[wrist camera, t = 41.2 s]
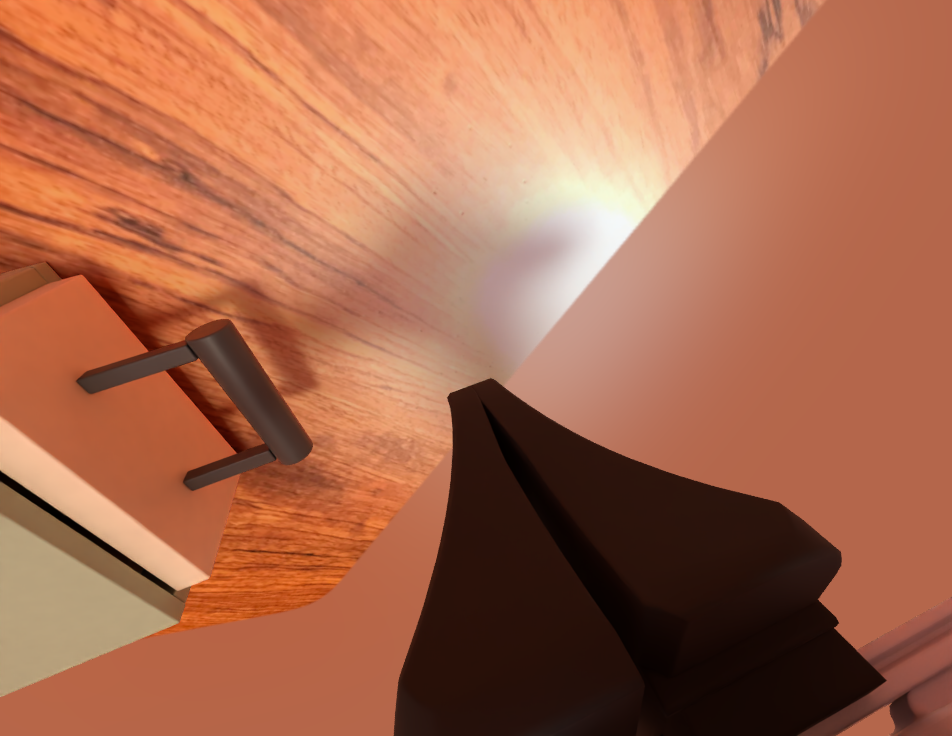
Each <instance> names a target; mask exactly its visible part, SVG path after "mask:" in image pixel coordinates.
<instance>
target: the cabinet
mask: <svg viewBox="0 0 952 736" xmlns="http://www.w3.org/2000/svg"><path fill="white" fill-rule="evenodd" d="M59 280H62V279H61V278H60V277H59V276H58V275H57V274H56V272H55V271H54V270H53V269H52V268H51V267H50V266H49V265H48V264H47V263H46V262H41V263H38V264H34V265H30V266H27V267H23V268H19V269H16V270H12V271H8V272H5V273H1V274H0V307H1V306H3V305H5V304H7V303H9V302H11V301H13V300H15V299H17V298H19V297H21V296H23V295H25V294H27V293H29V292H31V291H33V290H35V289H37V288H39V287H42V286H44V285H46V284H48V283H52V282H55V281H59ZM190 588H191V586H189V587H187V588H184V589H182V590H179V591H177V590H175V589H174V588H172V587H171V586H169V585H168V584H166V583H165V582H163V581H162V580H160V579H159V578H157V577H156V576H154V575H153V574H152V573H150V572H149V571H147V570H146V569H144V568H143V571H142V573H141V574H139V573H138V572H136V571H135V570H133V569H132V568H130V567H129V566H127V565H126V564H124V563H123V562H121V561H120V560H118V559H117V558H115V557H114V556H112V555H111V554H109V553H108V552H106V551H105V550H103V549H102V548H100V547H99V546H97V545H96V544H94V543H93V542H91V541H90V540H88V539H87V538H85V537H84V536H82V535H81V534H79V533H77V532H76V531H74V530H73V529H71V528H70V527H68V526H67V525H65V524H64V523H62V522H61V521H59V520H58V519H56V518H55V517H53V516H52V515H50V514H49V513H47V512H46V511H44V510H43V509H41V508H40V507H38V506H37V505H35V504H34V503H32V502H31V501H29V500H28V499H26V498H25V497H23V496H22V495H20V494H19V493H17V492H16V491H14V490H12V489H11V488H9V487H8V486H6V485H5V484H3V483H2V482H0V697H2V696H4V695H7V694H9V693H11V692H14V691H16V690H19V689H21V688H23V687H26V686H28V685H31V684H33V683H35V682H38V681H40V680H42V679H45V678H48V677H50V676H52V675H55V674H57V673H59V672H62V671H64V670H67V669H69V668H72V667H74V666H76V665H79V664H81V663H84V662H86V661H88V660H91V659H93V658H96V657H98V656H101V655H103V654H105V653H108V652H110V651H112V650H115V649H117V648H120V647H122V646H124V645H127V644H129V643H132V642H134V641H137V640H139V639H141V638H144V637H146V636H149V635H151V634H154V633H156V632H158V631H161V630H163V629H166V628H168V627H170V626H173V625H175V624H178V623H179V622H180V619H181V616H182V613H183V610H184V607H185V602H186V600H187V597H188V594H189V591H190Z"/></svg>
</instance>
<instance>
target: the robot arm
mask: <svg viewBox="0 0 952 736" xmlns="http://www.w3.org/2000/svg"><path fill="white" fill-rule="evenodd" d="M447 399H448V402H449V405H450V409H451V416H452V428H453V456H452V469H451V470H452V471H451V482H450V490H449V498H448V504H447V511H446V517H445V523H444V527H443V532H442V537H441V542H440V546H439V550H438V555H437V559H436V563H435V566H434V570H433V574H432V577H431V581H430V584H429V588H428V592H427V595H426V599H425V602H424V606H423V609H422V612H421V615H420V618H419V621H418V625H417V627H416V630H415V633H414V636H413V639H412V642H411V645H410V648H409V651H408V653H407V656H406V659H405V662H404V665H403V668H402V671H401V674H400V677H399V682H398V691H397V701H396V711H395V725H394V736H836V735H838V734H840V733H841V732H843V731H845V730H846V729H848V728H850V727H851V726H853V725H855V724H856V723H858V722H860V721H862V720H863V719H865V718H867V717H868V716H870V715H872V714H873V713H874V712H877V711H878V710H880V709H882V708H883V707H885V706H887V705H889V704H890V703H892V704H891V705H890V715H891V717H892V719H893V721H894V724H895V730H894V732H893V733H891V734H890V735H888V736H952V597H951V598H949V599H947V600H945V601H943V602H942V603H940V604H938V605H936V606H935V607H933V608H931V609H929V610H927V611H926V612H924V613H922V614H920V615H918V616H917V617H915V618H913V619H911V620H910V621H908V622H906V623H904V624H902V625H901V626H899V627H897V628H895V629H894V630H892V631H890V632H888V633H886V634H885V635H883V636H881V637H879V638H877V639H876V640H874V641H872V642H870V643H868V644H867V645H865V646H863V647H861V648H859V649H858V650H856V649H855V648H853V646H852V645H851V644H849V643H848V642H847V641H846V640H845V639H844V638H843V637H842V636H841V635H840V634H839V633H838V632H837V631H836V630H835V629H834V627H836V626H837V625H838V624H839V622H838V620H837V618H836V617H835V616H834V615H833V614H832V613H831V612H830V611H829V610H828V609H827V608H826V607H825V606H824V605H822V603H821V602H819V600H818V598H819V597H820V596H821V594H822V593H823V592H824V590H825V589H826V587H827V586H828V585H829V583H830V582H831V581H832V579H833V578H834V576H835V575H836V574H837V572H838V570H839V568H840V567H841V561H842V558H841V552H840V551H839V550H838V549H837V548H836V547H834V546H833V545H832V544H831V543H829V542H828V541H827V540H826V539H825V538H824V537H822V536H821V535H820V534H819V533H818V532H817V531H815V530H814V529H813V528H812V527H811V526H809V525H808V524H807V523H806V522H805V521H804V520H802V519H801V518H800V517H798V516H797V515H795V514H794V513H793V512H791V511H790V510H789V509H787V508H786V507H785V506H783V505H782V504H780V503H779V502H775V501H771V500H767V499H763V498H759V497H755V496H751V495H747V494H743V493H739V492H735V491H730V490H726V489H722V488H719V487H715V486H711V485H708V484H704V483H701V482H698V481H694V480H691V479H688V478H684V477H681V476H678V475H675V474H672V473H669V472H666V471H663V470H660V469H658V468H655V467H652V466H649V465H647V464H644V463H641V462H638V461H635V460H633V459H630V458H628V457H625V456H623V455H621V454H618V453H616V452H614V451H611V450H609V449H607V448H605V447H602V446H600V445H598V444H596V443H594V442H592V441H590V440H588V439H586V438H584V437H582V436H580V435H578V434H576V433H574V432H572V431H570V430H569V429H567V428H565V427H563V426H562V425H560V424H558V423H556V422H555V421H553V420H551V419H550V418H548V417H546V416H545V415H543V414H542V413H540V412H539V411H537V410H535V409H534V408H532V407H531V406H529V405H528V404H526V403H525V402H523V401H522V400H521V399H519V398H518V397H516V396H515V395H514V394H512V393H511V392H510V391H508V390H507V389H506V388H504V387H503V386H502V385H501V384H499V383H498V382H497V381H496V380H494V379H492V378H490V379H487V380H485V381H482V382H479V383H477V384H474V385H471V386H468V387H466V388H463V389H460V390H458V391H455V392H452V393H450V394H449V396H448V397H447Z"/></svg>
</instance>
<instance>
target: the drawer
mask: <svg viewBox="0 0 952 736" xmlns="http://www.w3.org/2000/svg"><path fill="white" fill-rule="evenodd" d="M198 358H199V359H200V360H201V362H202V363H203V364H204V366H205V367H206V368H207V369H208V371H209V372H210V373H211V374H212V376H213V377H214V378H215V380H216V381H217V382H218V383H219V385H220V386H221V387H222V389H223V390H224V391H225V392H226V394H227V395H228V396H229V398H230V399H231V400H232V401H233V403H234V404H235V405H236V407H237V408H238V409H239V410H240V412H241V413H242V414H243V415H244V417H245V418H246V419H247V421H248V422H249V423H250V424H251V426H252V427H253V428H254V430H255V431H256V432H257V433H258V435H259V436H260V437H261V439H262V440H263V441H264V442H265V444H262V445H259V446H256V447H254V448H251V449H248V450H245V451H242V452H240V453H236V452H235V451H234V450H233V448H232V447H231V446H230V445H229V444H228V443H227V441H226V440H225V439H224V438H223V437H222V436H221V434H220V433H219V432H218V431H217V430H216V429H215V428H214V426H213V425H212V424H211V423H210V422H209V421H208V419H207V418H206V417H205V416H204V415H203V414H202V412H201V411H200V410H199V409H198V408H197V407H196V406H195V404H194V403H193V402H192V401H191V400H190V399H189V397H188V396H187V395H186V394H185V393H184V392H183V390H182V389H181V388H180V387H179V386H178V385H177V384H176V382H175V381H174V380H173V379H172V378H171V377H170V375H169V374H168V373H167V372H166V371H165V370H168V369H171V368H174V367H177V366H180V365H183V364H187V363H190V362H193V361H196V360H197V359H198ZM312 448H313V443H312V441H311V439H310V438H309V436H308V435H307V433H306V432H305V430H304V429H303V427H302V426H301V424H300V423H299V421H298V420H297V418H296V417H295V415H294V414H293V412H292V411H291V409H290V408H289V406H288V405H287V403H286V402H285V400H284V399H283V397H282V396H281V395H280V393H279V392H278V390H277V389H276V387H275V386H274V384H273V383H272V381H271V380H270V378H269V377H268V375H267V374H266V372H265V371H264V369H263V368H262V366H261V365H260V363H259V362H258V360H257V359H256V357H255V356H254V354H253V353H252V351H251V350H250V348H249V347H248V345H247V344H246V342H245V341H244V339H243V338H242V336H241V335H240V333H239V332H238V330H237V329H236V327H235V326H234V324H233V323H232V321H230V320H229V319H220V320H216V321H212V322H209V323H207V324H204V325H202V326H200V327H198V328H196V329H195V330H193V331H192V332H190V333H189V334H188V335H187V336H186V338H185V340H184V341H181V342H178V343H175V344H171V345H168V346H165V347H162V348H159V349H156V350H152V351H148V350H147V349H146V348H145V347H144V345H143V344H142V343H141V342H140V341H139V340H138V338H137V337H136V336H135V335H134V334H133V333H132V331H131V330H130V329H129V328H128V327H127V326H126V325H125V323H124V322H123V321H122V320H121V319H120V318H119V316H118V315H117V314H116V313H115V312H114V311H113V309H112V308H111V307H110V306H109V305H108V304H107V303H106V301H105V300H104V299H103V298H102V297H101V296H100V294H99V293H98V292H97V291H96V290H95V289H94V287H93V286H92V285H91V284H90V283H89V282H88V281H87V279H86V278H85V277H84V276H83V275H77V276H73V277H70V278H66V279H62V280H59V281H55V282H52V283H48V284H46V285H44V286H42V287H39V288H37V289H35V290H33V291H31V292H29V293H27V294H25V295H23V296H21V297H19V298H17V299H15V300H13V301H11V302H9V303H7V304H5V305H3V306H1V307H0V482H2V483H3V484H5V485H6V486H8V487H9V488H11V489H12V490H14V491H16V492H17V493H19V494H20V495H22V496H23V497H25V498H26V499H28V500H29V501H31V502H32V503H34V504H35V505H37V506H38V507H40V508H41V509H43V510H44V511H46V512H47V513H49V514H50V515H52V516H53V517H55V518H56V519H58V520H59V521H61V522H62V523H64V524H65V525H67V526H68V527H70V528H71V529H73V530H74V531H76V532H77V533H79V534H81V535H82V536H84V537H85V538H87V539H88V540H90V541H91V542H93V543H94V544H96V545H97V546H99V547H100V548H102V549H103V550H105V551H106V552H108V553H109V554H111V555H112V556H114V557H115V558H117V559H118V560H120V561H121V562H123V563H124V564H126V565H127V566H129V567H130V568H132V569H133V570H135V571H136V572H138V573H139V574H141V573H142V571H143V568H144V569H146V570H147V571H149V572H150V573H152V574H153V575H154V576H156V577H157V578H159V579H160V580H162V581H163V582H165V583H166V584H168V585H169V586H171V587H172V588H174V589H175V590H177V591H179V590H182V589H184V588H187V587H189V586H192V585H194V584H197V583H199V582H202V581H204V580H207V579H209V578H210V576H211V572H212V569H213V566H214V562H215V559H216V556H217V552H218V549H219V545H220V542H221V539H222V535H223V532H224V528H225V525H226V522H227V518H228V515H229V512H230V508H231V505H232V501H233V498H234V495H235V491H236V488H237V484H238V481H239V478H240V474H241V473H243V472H246V471H248V470H251V469H254V468H256V467H259V466H262V465H265V464H267V463H270V462H273V461H275V460H276V458H277V459H278V460H279V462H280V463H281V464H284V465H292V464H295V463H298V462H300V461H301V460H303V459H304V458H305V457H306V456H308V454H309V453H310V452H311V450H312Z"/></svg>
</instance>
